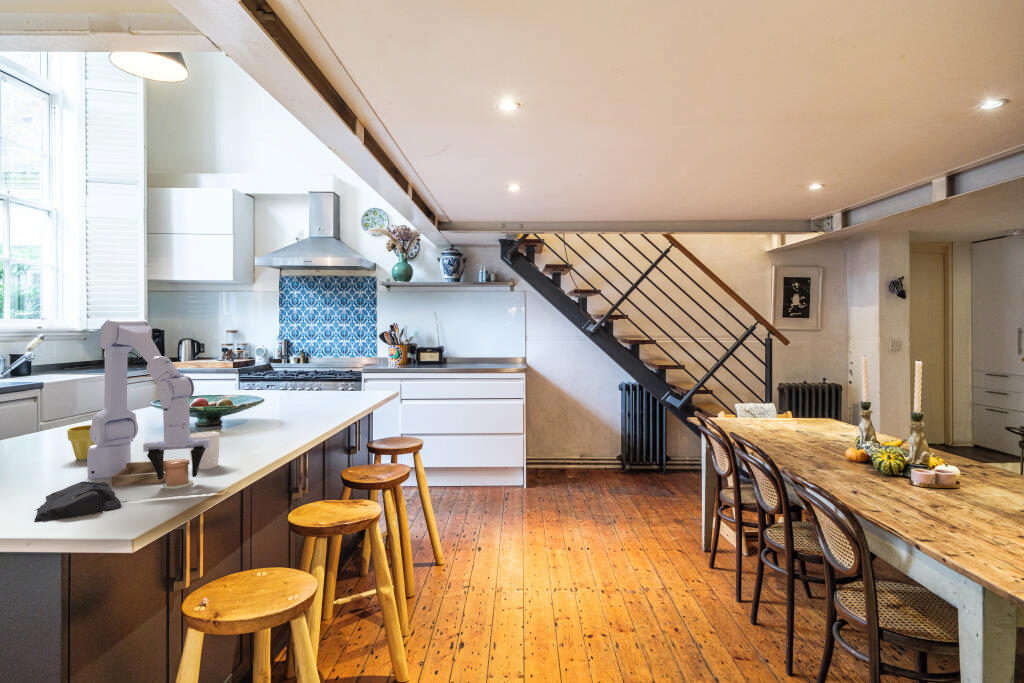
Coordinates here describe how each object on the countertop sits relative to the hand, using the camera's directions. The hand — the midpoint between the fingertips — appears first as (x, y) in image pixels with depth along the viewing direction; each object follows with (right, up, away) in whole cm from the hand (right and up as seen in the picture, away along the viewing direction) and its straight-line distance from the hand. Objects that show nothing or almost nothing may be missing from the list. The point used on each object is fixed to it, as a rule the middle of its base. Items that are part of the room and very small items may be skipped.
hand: (178, 477), depth 141 cm
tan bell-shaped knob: (0, -2, 0) cm, 2 cm away
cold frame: (-12, -3, +7) cm, 14 cm away
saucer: (0, -3, 0) cm, 3 cm away
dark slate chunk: (-15, -4, -13) cm, 20 cm away
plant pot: (-48, -2, +33) cm, 58 cm away
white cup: (-4, -2, +19) cm, 19 cm away
